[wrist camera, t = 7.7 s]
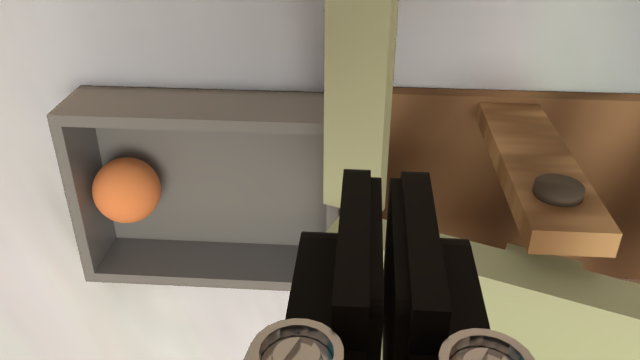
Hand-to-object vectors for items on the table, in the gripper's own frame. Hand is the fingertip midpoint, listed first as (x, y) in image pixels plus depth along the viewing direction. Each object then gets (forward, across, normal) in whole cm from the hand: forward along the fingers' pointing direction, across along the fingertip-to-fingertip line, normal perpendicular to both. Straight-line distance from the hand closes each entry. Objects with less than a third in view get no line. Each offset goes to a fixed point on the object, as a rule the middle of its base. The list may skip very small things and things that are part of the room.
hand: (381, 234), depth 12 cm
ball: (+18, +13, +10) cm, 24 cm away
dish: (+20, +9, +10) cm, 24 cm away
